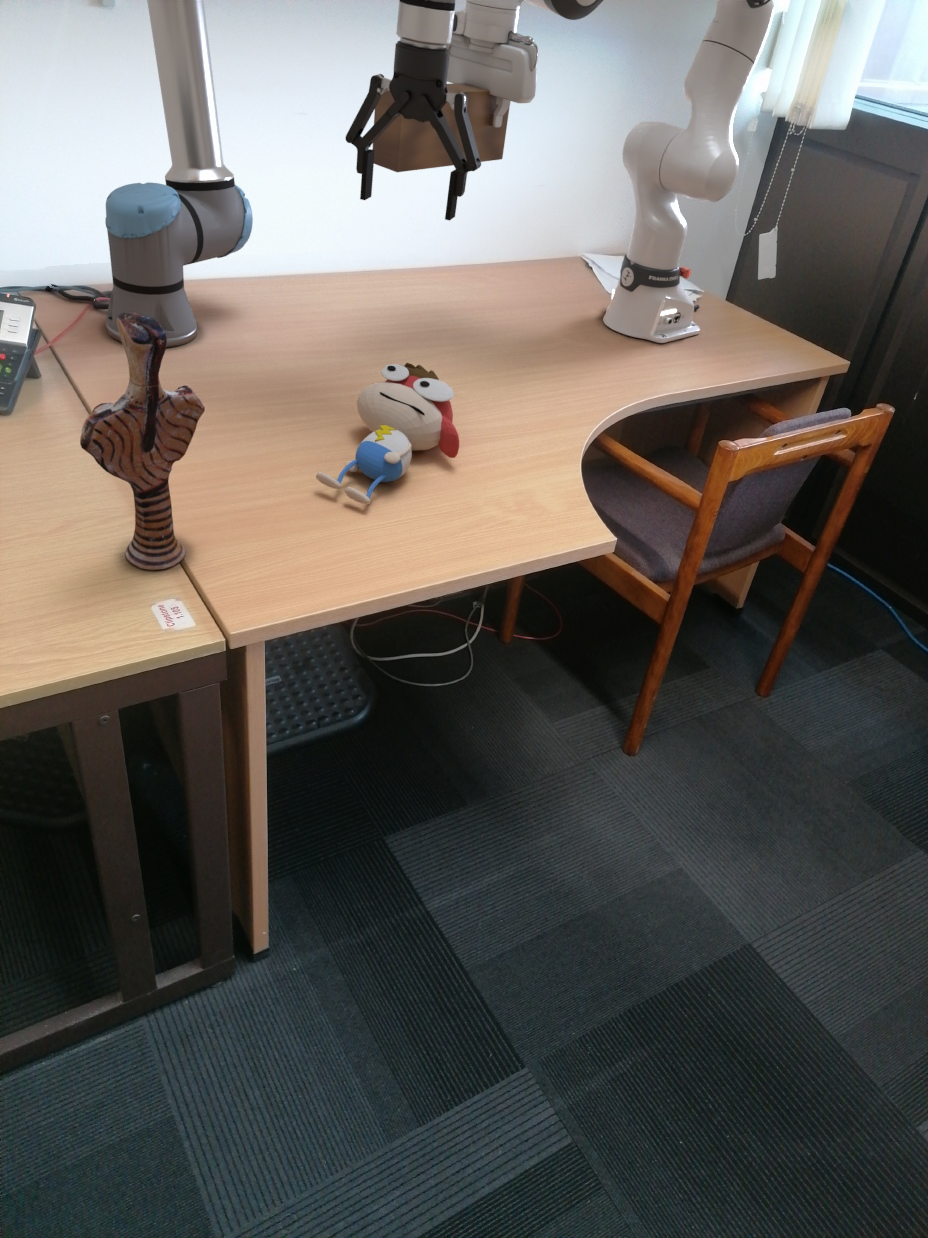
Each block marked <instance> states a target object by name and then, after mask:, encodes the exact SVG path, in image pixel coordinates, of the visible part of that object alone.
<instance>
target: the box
mask: <svg viewBox="0 0 928 1238" xmlns="http://www.w3.org/2000/svg"><path fill="white" fill-rule="evenodd" d="M446 86H447V91H448V93H461V92H466V93H467V96H468V101H467V112H468V115H469V119H470V123H471V127H472V130H473V134H474V138H475V142H476V145H477V149H478V153H479V157H480V160H481V163H483V162H484V163H485V162H492V161H499V160H503V158H504V156H503V155H504V151H505V143H506V135H507V127H508V121H509V114H510V107H511V105H510V106H509V108H508V109H507V111H506V112H505V114H504V115H503V118H502V125H501V127H493V126H490V125H489V121H490V114H494V113H495V111H496V109H497V107H498V104H496V100H497V97H496V96H493V95H490V91H489V90H486V89H482V88H479V87H475V86H472V85H469V84H465V83H454V84H453V83H447V84H446ZM394 102H395V101H394V99H393V97H392V95H391V93H390V90H389V89H387V91H386V93H385V94H382V95H381V98H380V100H379V102H378V104H377V106H376V107H375V109H374V112H373V113H374V115H373V119H374V120H373V125H374V124H375V123H376V122H377V121H378V120H379V119H380V118H381V117H382V116H383V114H384V113H385V112H386V110H387V109H388V108H389V107H390V106H391V105H392V104H393V103H394ZM442 111H443V113H444V115H445V117H446V119H447V123H448V125H449V127H450V129H451V131H452V133H453V135H454V137H455V139H456V141H457V143H458V145H459V147H460V149H461V151H462V152H463V154H464V156H465V152H464V148H463V145H462V141H461V137H460V134H459V130H458V127H457V123H456V119H455V114H454V111H453V110H452V109H451V107H450V104H449V102H446V104H445V105H444V106H443V107H442ZM372 150H375V153H374V165H376V166H379V167H381V168H384V169H387V170H389V171H392V172H395V173H403V172H411V171H419V170H428V169H437V168H442V167H443V168H444V167H450V166H451V167H452V166H454V165H453V163H452V161H451V159H450V157H449V155H448V153H447V151H446V150H445V148H444V146H443V144H442V142H441V140H440V138H439V136H438V134H437V132H436V130H435V129H434V128H433V127H432V125H431V124H430V122H429V121H428V122H424V123H423V122H419V121H417V120H415V119H405V118H404V117H403V116H402V115H401V114H400V115H399V116H398V117H397V118H396V119H395V120H394V121H393V122H392V123H391V124H390V125H389V126H388V128H387V129H386V130H385V131H384V132H383V133H382V134H381V135H380V136H379V137H378V138H377V139H376V140H375V141H374V142H373V144H372ZM465 158H466V156H465ZM466 160H467V159H466Z"/></svg>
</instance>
